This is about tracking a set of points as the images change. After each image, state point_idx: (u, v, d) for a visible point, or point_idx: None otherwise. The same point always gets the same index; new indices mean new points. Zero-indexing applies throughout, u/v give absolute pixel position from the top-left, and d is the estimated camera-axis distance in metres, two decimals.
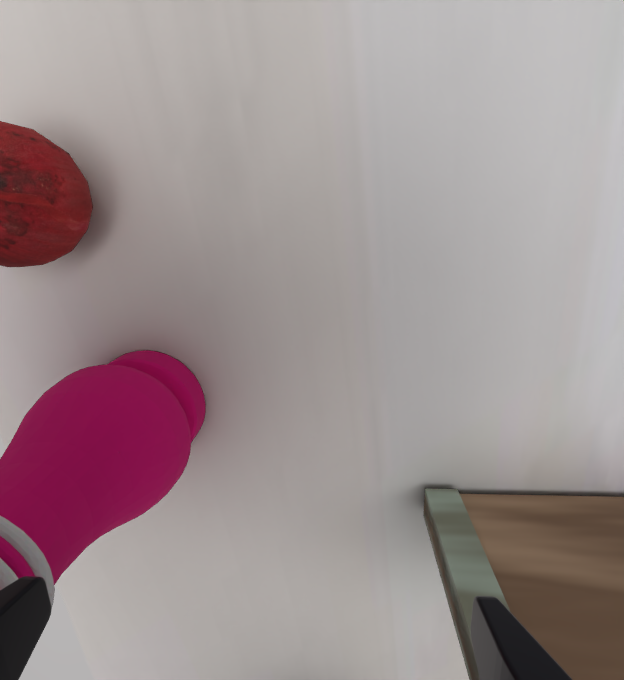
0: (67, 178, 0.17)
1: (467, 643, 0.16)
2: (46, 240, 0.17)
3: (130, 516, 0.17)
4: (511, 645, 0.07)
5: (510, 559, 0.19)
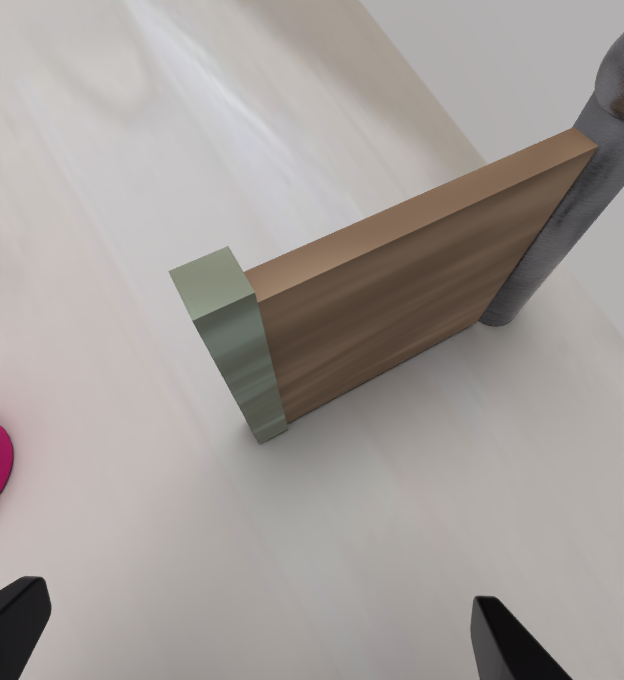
0: None
1: None
2: None
3: None
4: (511, 645, 0.07)
5: None
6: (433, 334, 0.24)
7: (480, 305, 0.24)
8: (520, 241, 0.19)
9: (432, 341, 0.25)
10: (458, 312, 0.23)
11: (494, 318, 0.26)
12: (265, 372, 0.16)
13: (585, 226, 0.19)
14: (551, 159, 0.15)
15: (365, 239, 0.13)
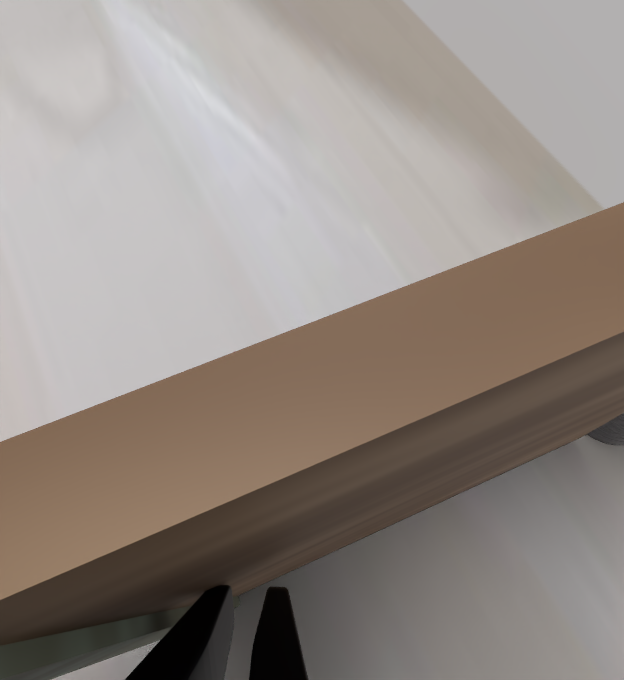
0: None
1: None
2: None
3: None
4: (267, 632, 0.07)
5: None
6: (508, 467, 0.13)
7: (600, 423, 0.13)
8: None
9: (503, 471, 0.15)
10: (560, 440, 0.12)
11: (618, 437, 0.15)
12: (90, 655, 0.06)
13: None
14: None
15: (333, 394, 0.04)
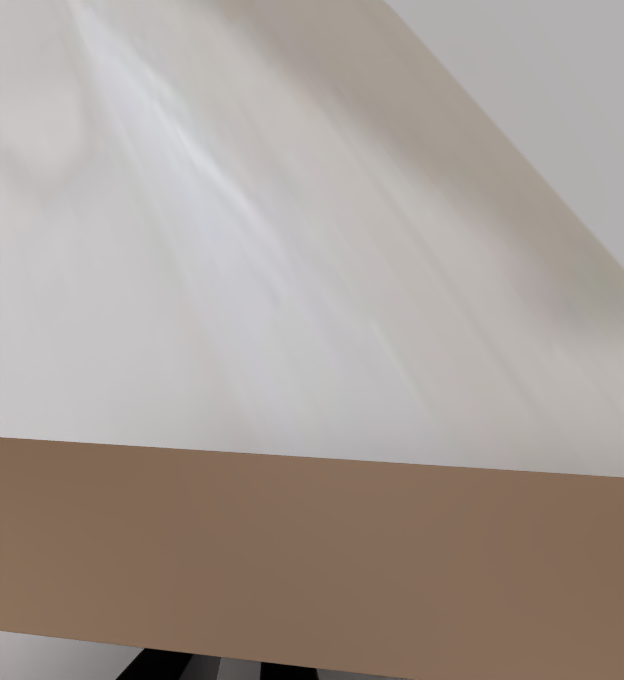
0: None
1: None
2: None
3: None
4: None
5: None
6: None
7: None
8: None
9: None
10: None
11: None
12: None
13: None
14: None
15: (179, 561, 0.03)
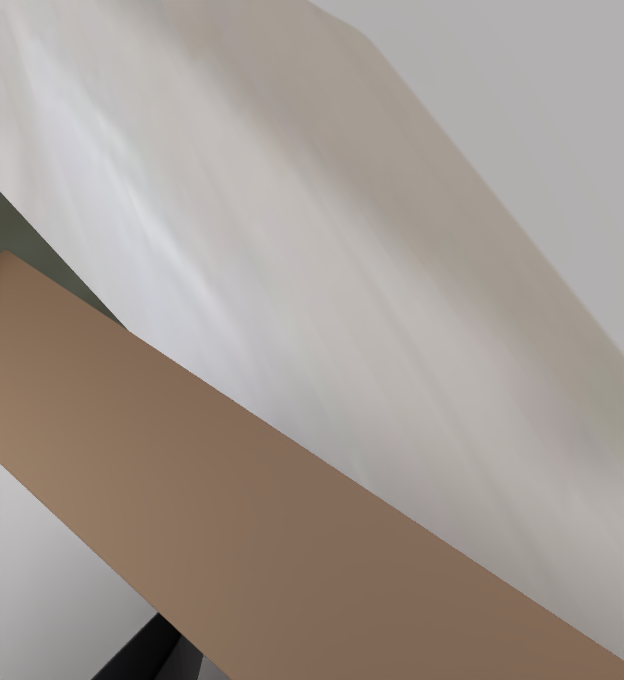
0: None
1: None
2: None
3: None
4: None
5: None
6: None
7: None
8: None
9: None
10: None
11: None
12: None
13: None
14: None
15: (362, 655, 0.02)
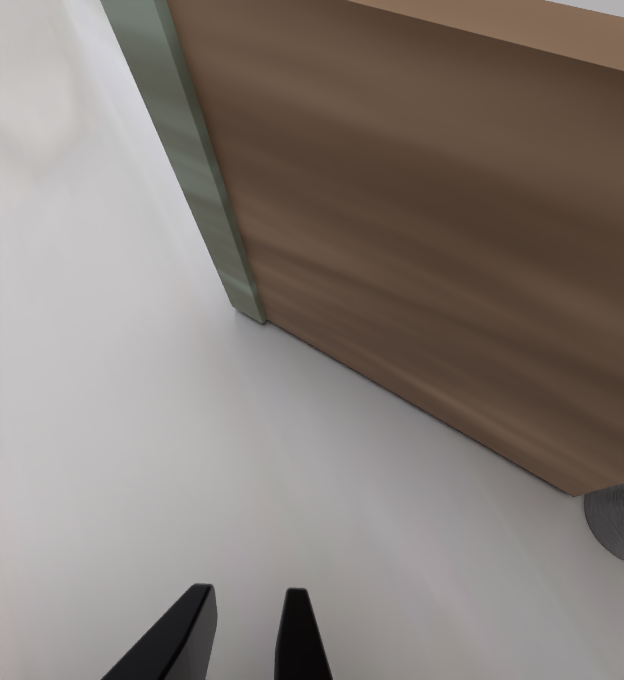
0: None
1: None
2: None
3: None
4: (289, 634, 0.07)
5: None
6: (483, 418, 0.14)
7: (588, 468, 0.13)
8: None
9: (480, 433, 0.15)
10: (536, 427, 0.13)
11: None
12: (197, 154, 0.11)
13: None
14: None
15: None
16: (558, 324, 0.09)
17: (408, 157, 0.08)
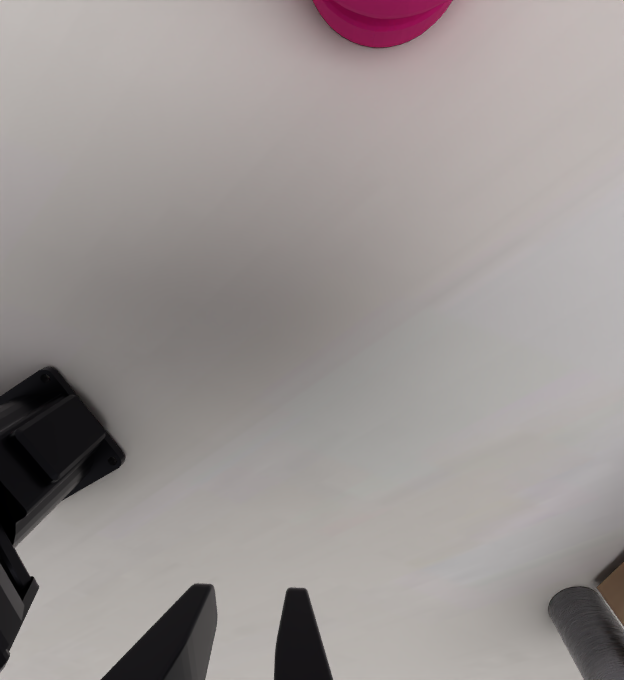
0: None
1: None
2: None
3: None
4: (289, 634, 0.07)
5: None
6: None
7: None
8: None
9: None
10: None
11: (557, 614, 0.23)
12: None
13: None
14: None
15: None
16: None
17: None
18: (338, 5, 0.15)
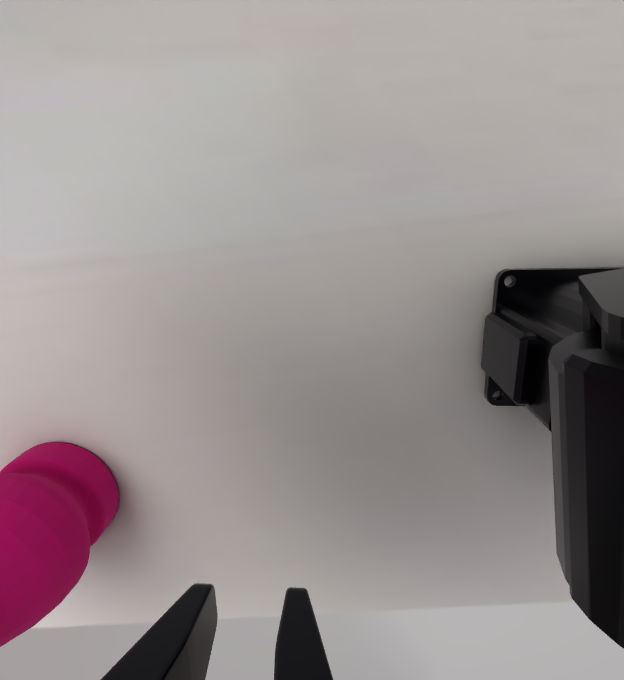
0: None
1: None
2: None
3: None
4: (289, 634, 0.07)
5: None
6: None
7: None
8: None
9: None
10: None
11: None
12: None
13: None
14: None
15: None
16: None
17: None
18: (91, 494, 0.22)
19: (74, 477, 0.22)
